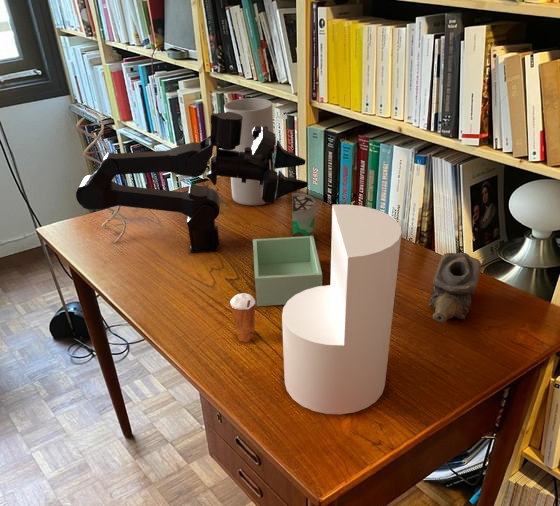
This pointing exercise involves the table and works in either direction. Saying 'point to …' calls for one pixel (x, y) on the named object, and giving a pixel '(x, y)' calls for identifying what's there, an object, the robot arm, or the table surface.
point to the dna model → (97, 138)
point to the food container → (303, 214)
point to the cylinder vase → (249, 143)
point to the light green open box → (285, 268)
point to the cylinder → (345, 317)
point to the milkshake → (244, 316)
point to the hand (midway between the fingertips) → (306, 173)
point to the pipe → (454, 286)
